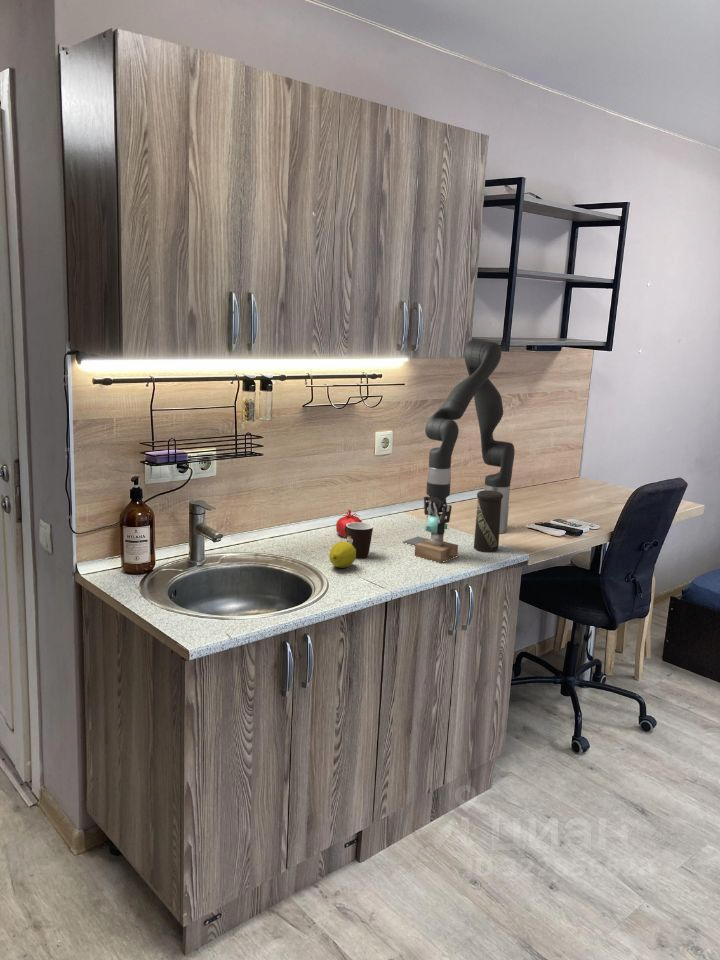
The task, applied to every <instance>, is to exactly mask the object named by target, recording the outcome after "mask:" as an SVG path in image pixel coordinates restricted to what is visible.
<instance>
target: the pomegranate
mask: <svg viewBox="0 0 720 960" xmlns="http://www.w3.org/2000/svg"><path fill="white" fill-rule="evenodd" d="M339 516H341V514H338V517H339ZM353 522H362V523H364V522H363V521H362V520H361V519H360V515H358V514H357V513H353V514H352V510H351V509H348V511H347V512H345V514H342V516H341V517H340V518H339V519H338V520H337V521H336V522H335V523H336V524H335V530H336V533H337V535H339V536H341V537H344V538H345V539H347V536H346V533H345V526H346V525H347V524H348V523H353Z"/></svg>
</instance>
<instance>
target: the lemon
mask: <svg viewBox="0 0 720 960" xmlns="http://www.w3.org/2000/svg"><path fill="white" fill-rule="evenodd" d="M328 557H329V561H330V563H331V564H332V565H333V566H334V567H336V568H338V569H339V568H341V569H344V568H348V567H350V566H351V565H352V564H353V563H355V560H356V559H355V558H356V550H355V548H354V546H353V545H352V544H350V543H349V542H347V541H339V542H337V543H335V544H333V546H332V547H331V548H330V550H329V553H328Z"/></svg>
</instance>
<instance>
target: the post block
mask: <svg viewBox="0 0 720 960" xmlns="http://www.w3.org/2000/svg"><path fill="white" fill-rule="evenodd" d="M430 533H431V532H430ZM444 535H445V533H444V534H443V535H438V534H437V533H431V534H430V538H429V539H430V540H427V541H424V542H421V543H418V544H415V546H414V557H415V556H416V558H419V557H420V558H419V559H423V558H424V559H423V560H426V559H427V560H426V561H430V560H432V561H431V562H434V561H436V562H435V563H438V562H440V563H439V564H442V563H444V562H443V561H445V562H447V561H446V560H448V561H450V560H452V559H451V558H453V557H455V558H457V557H458V551H459V544H455V543H452V542H448V541H444V537H445V536H444ZM456 556H457V557H456ZM449 559H450V560H449ZM453 559H454V558H453ZM441 562H442V563H441Z"/></svg>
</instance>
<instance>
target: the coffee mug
mask: <svg viewBox="0 0 720 960" xmlns="http://www.w3.org/2000/svg"><path fill="white" fill-rule="evenodd" d="M362 522H363V521H362ZM362 522H353V523H348V524H347V525H346V526H345V533H346V536H347V538H346V542H349V543H350V544H352V545H353V546H354V548H355V550H356V558H355V560H357V559H358V560H362V559H363V560H364V559H368V557H369V555H370V548H371V542H372V536H373V530H374V525H373V524H371V523H368V522H363V523H362Z"/></svg>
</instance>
